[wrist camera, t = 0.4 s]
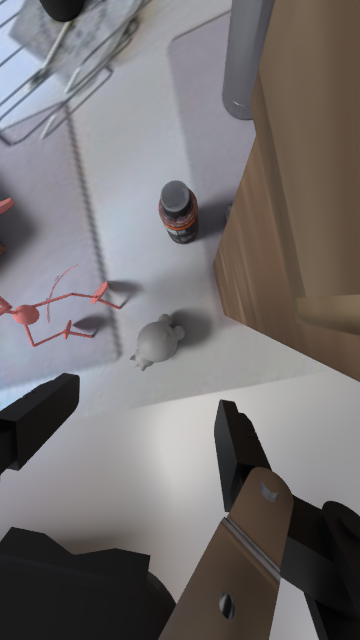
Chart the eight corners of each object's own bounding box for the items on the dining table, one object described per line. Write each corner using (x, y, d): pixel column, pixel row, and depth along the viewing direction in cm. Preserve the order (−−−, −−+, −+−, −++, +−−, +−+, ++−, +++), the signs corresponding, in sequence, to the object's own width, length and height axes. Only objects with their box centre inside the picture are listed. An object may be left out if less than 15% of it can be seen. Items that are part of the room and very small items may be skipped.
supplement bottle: (185, 206, 35) (179, 161, 24) (204, 231, 35) (207, 197, 24) (162, 227, 36) (144, 193, 24) (180, 251, 36) (171, 228, 24)
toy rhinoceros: (137, 341, 41) (111, 361, 34) (166, 306, 35) (142, 322, 28) (159, 363, 41) (138, 388, 34) (192, 332, 35) (175, 355, 28)
